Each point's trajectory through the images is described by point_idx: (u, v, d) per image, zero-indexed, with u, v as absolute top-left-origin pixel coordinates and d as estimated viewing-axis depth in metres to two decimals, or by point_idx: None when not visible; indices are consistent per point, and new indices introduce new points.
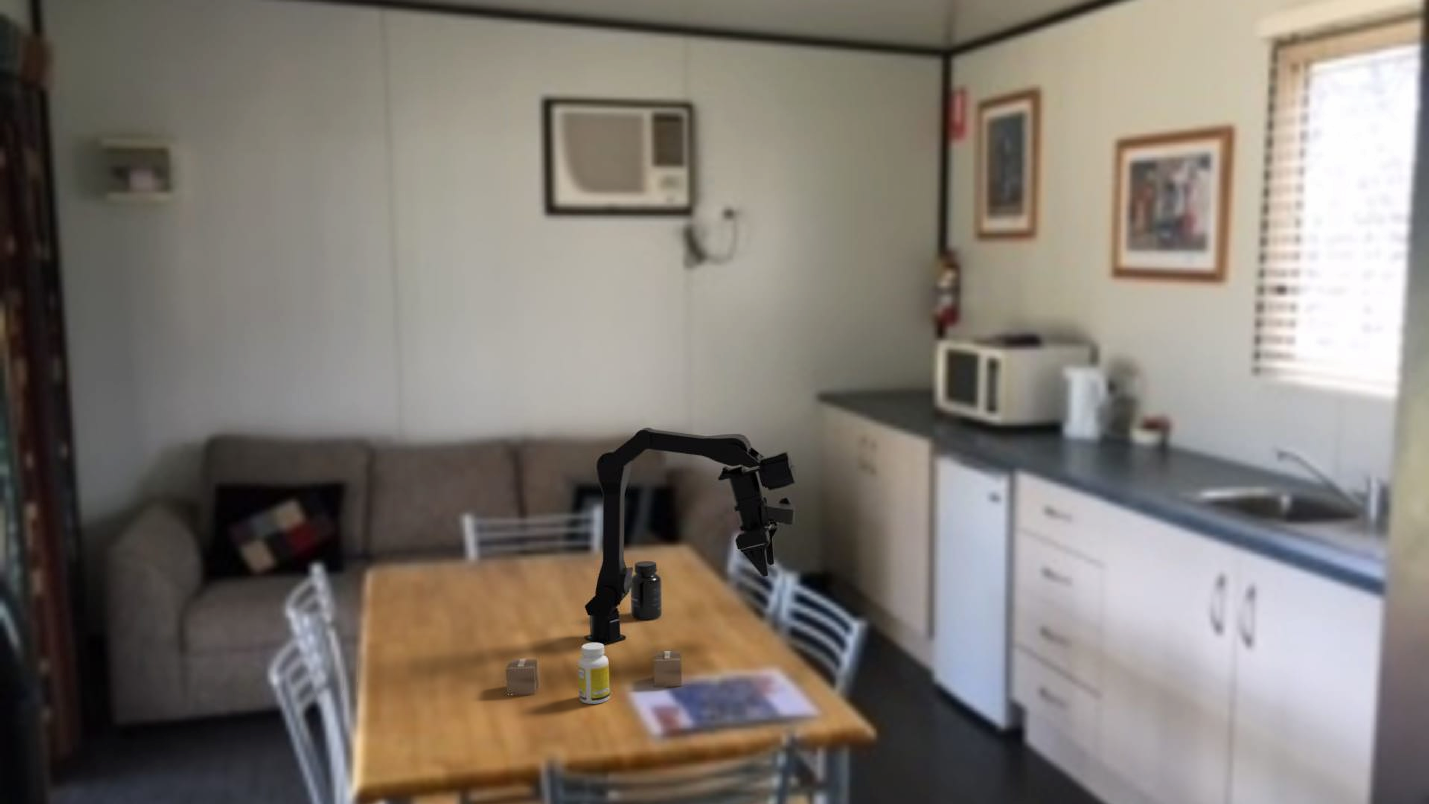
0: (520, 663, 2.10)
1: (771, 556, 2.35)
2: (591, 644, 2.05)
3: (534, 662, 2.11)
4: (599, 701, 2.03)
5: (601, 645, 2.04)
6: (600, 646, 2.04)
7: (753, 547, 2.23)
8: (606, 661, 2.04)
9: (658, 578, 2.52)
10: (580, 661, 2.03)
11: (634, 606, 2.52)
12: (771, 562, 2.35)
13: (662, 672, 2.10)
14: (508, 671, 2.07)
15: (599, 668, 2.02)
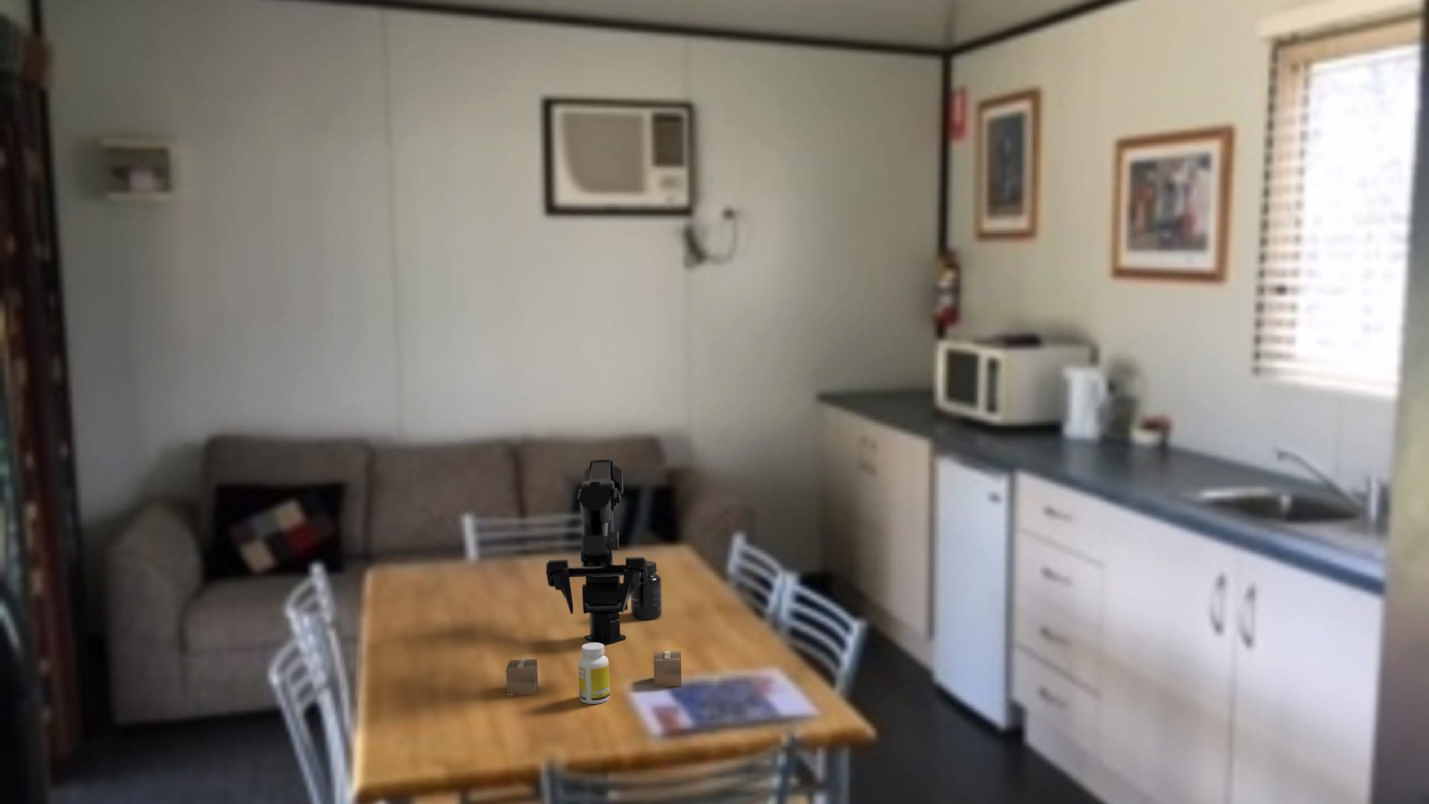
0: (521, 663, 2.10)
1: (620, 601, 2.13)
2: (591, 644, 2.05)
3: (534, 662, 2.11)
4: (599, 701, 2.03)
5: (601, 645, 2.04)
6: (600, 646, 2.04)
7: None
8: (606, 661, 2.04)
9: (658, 578, 2.52)
10: (580, 661, 2.03)
11: (634, 606, 2.52)
12: (620, 608, 2.12)
13: (662, 672, 2.10)
14: (508, 671, 2.07)
15: (599, 668, 2.02)
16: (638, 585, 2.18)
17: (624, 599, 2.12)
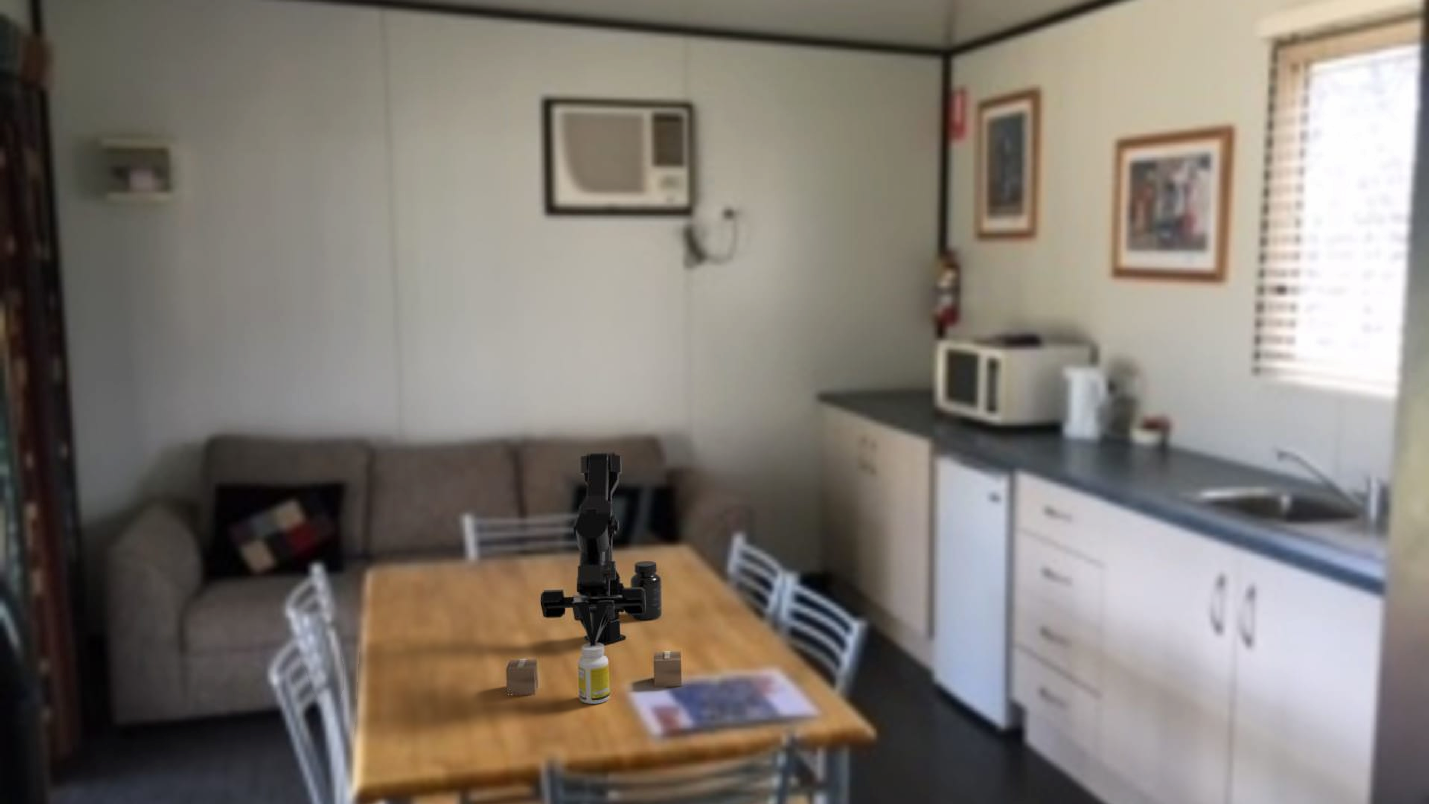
0: (521, 663, 2.10)
1: (592, 634, 2.04)
2: None
3: (534, 662, 2.11)
4: (599, 701, 2.03)
5: (601, 645, 2.04)
6: (600, 646, 2.03)
7: None
8: (606, 661, 2.03)
9: (658, 578, 2.52)
10: (580, 661, 2.03)
11: None
12: None
13: (662, 672, 2.10)
14: (508, 671, 2.07)
15: (599, 668, 2.02)
16: (612, 617, 2.09)
17: (596, 632, 2.04)
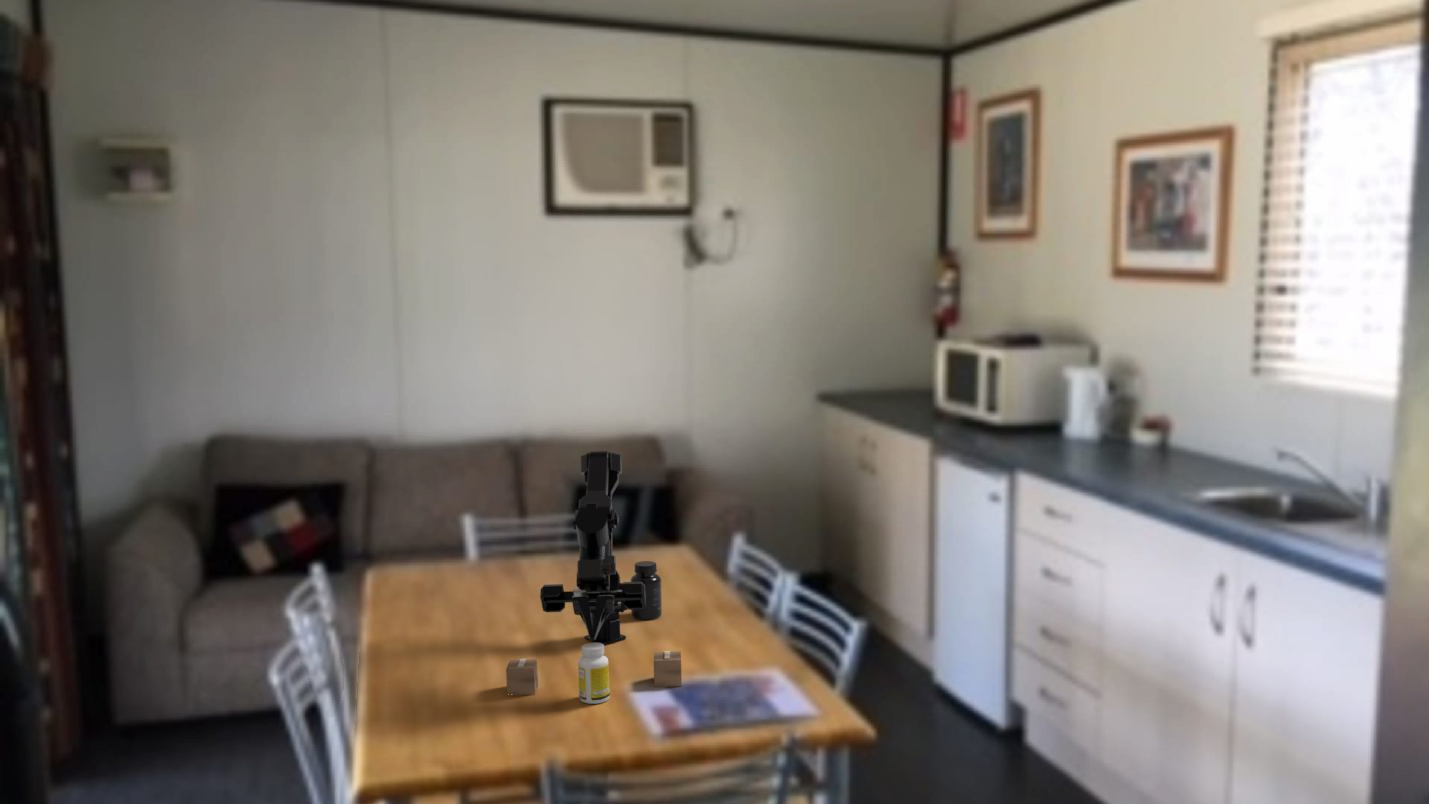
0: (521, 663, 2.10)
1: (592, 629, 2.04)
2: (591, 644, 2.05)
3: (534, 662, 2.11)
4: (599, 701, 2.03)
5: (601, 645, 2.04)
6: (600, 646, 2.04)
7: None
8: (606, 661, 2.04)
9: (658, 578, 2.52)
10: (580, 661, 2.03)
11: None
12: None
13: (662, 672, 2.10)
14: (508, 671, 2.07)
15: (599, 668, 2.02)
16: (612, 612, 2.09)
17: (596, 626, 2.04)
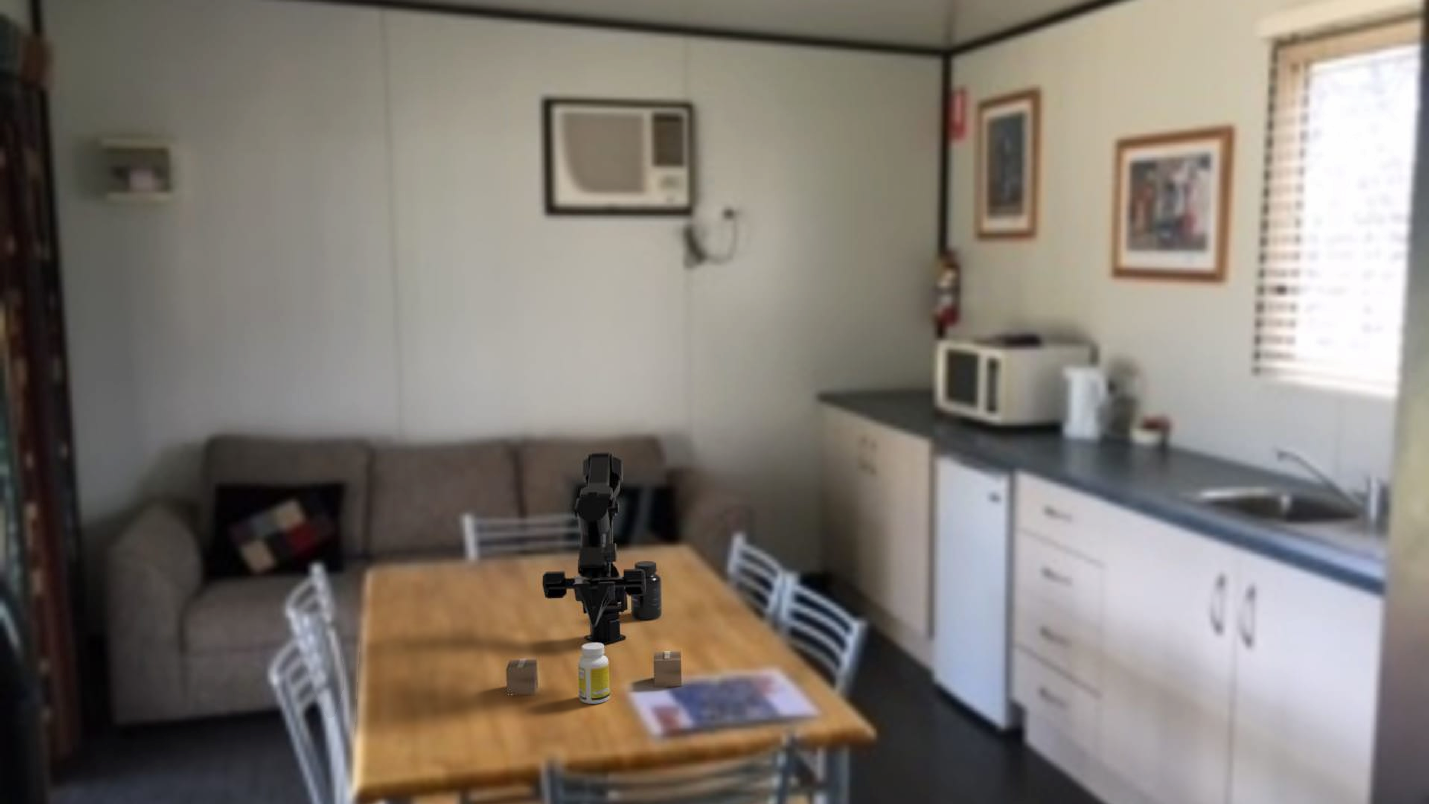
0: (521, 663, 2.10)
1: (593, 615, 2.08)
2: (591, 644, 2.05)
3: (534, 662, 2.11)
4: (599, 701, 2.03)
5: (601, 645, 2.04)
6: (600, 646, 2.04)
7: None
8: (606, 661, 2.04)
9: (658, 578, 2.52)
10: (580, 661, 2.03)
11: (634, 606, 2.52)
12: None
13: (662, 672, 2.10)
14: (508, 671, 2.07)
15: (599, 668, 2.02)
16: (612, 598, 2.13)
17: (597, 613, 2.08)
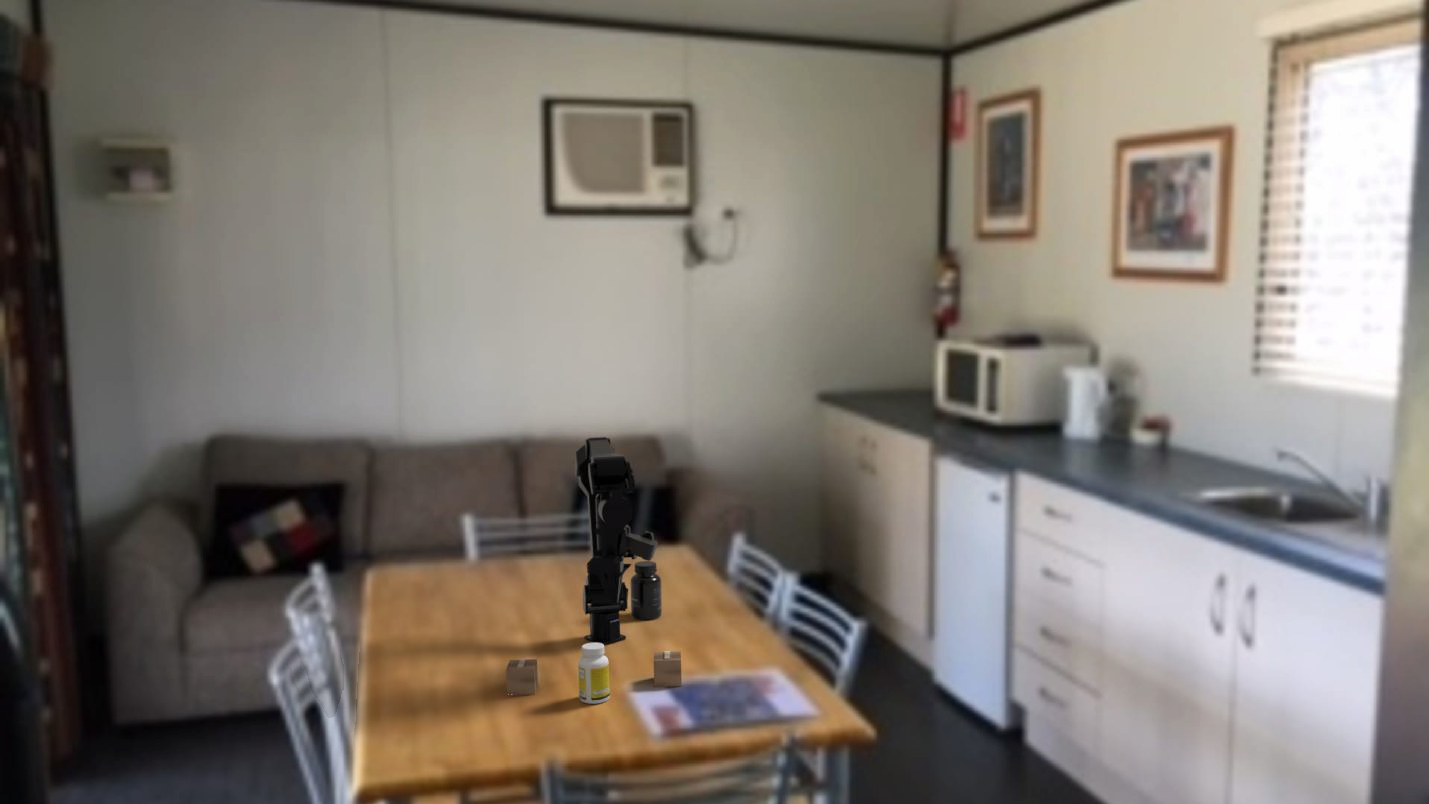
0: (521, 663, 2.10)
1: None
2: (591, 644, 2.05)
3: (534, 662, 2.11)
4: (599, 701, 2.03)
5: (601, 645, 2.04)
6: (600, 646, 2.04)
7: None
8: (606, 661, 2.04)
9: (658, 578, 2.52)
10: (580, 661, 2.03)
11: (634, 606, 2.52)
12: None
13: (662, 672, 2.10)
14: (508, 671, 2.07)
15: (599, 668, 2.02)
16: None
17: (619, 592, 2.20)
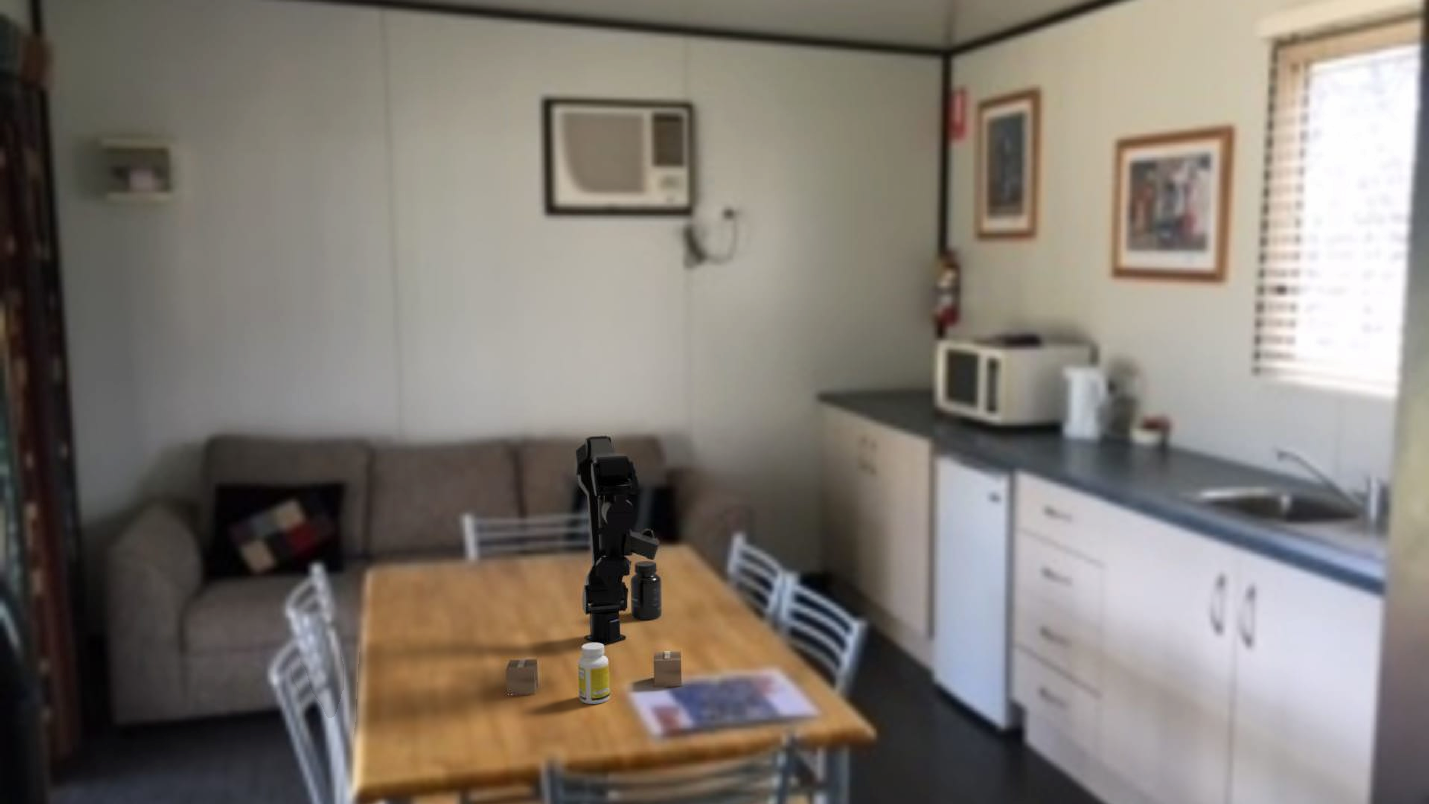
0: (521, 663, 2.10)
1: None
2: (591, 644, 2.05)
3: (534, 662, 2.11)
4: (599, 701, 2.03)
5: (601, 645, 2.04)
6: (600, 646, 2.04)
7: None
8: (606, 661, 2.03)
9: (658, 578, 2.52)
10: (580, 661, 2.03)
11: (634, 606, 2.52)
12: None
13: (662, 672, 2.10)
14: (508, 671, 2.07)
15: (599, 668, 2.02)
16: None
17: None
